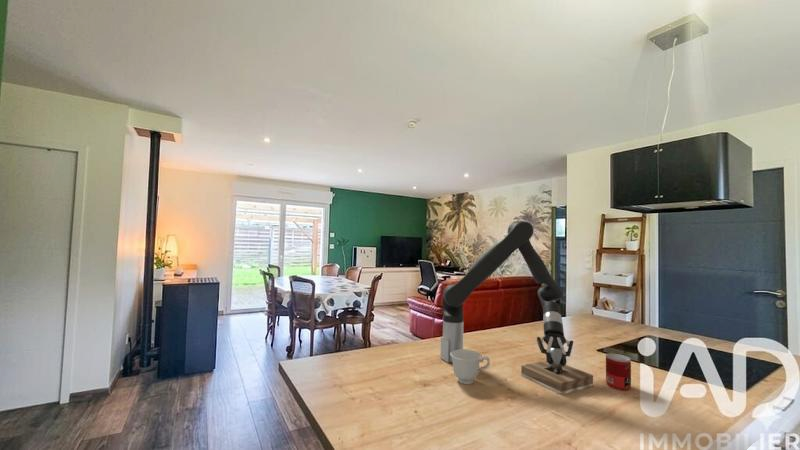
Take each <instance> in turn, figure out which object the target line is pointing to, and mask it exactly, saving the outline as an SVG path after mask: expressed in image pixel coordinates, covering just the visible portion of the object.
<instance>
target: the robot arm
mask: <svg viewBox="0 0 800 450" xmlns="http://www.w3.org/2000/svg"><path fill="white" fill-rule="evenodd" d="M533 234H534V227H533V225H532V224H531V223H530V222H528V221H525V220H522V221H521V220H520V221H513V222H512V223H510V224H509V225H508V228H507V235H505V237H503V239H501V240H500V241H498V242H497V243H496V244H493V245H492V246H490V247H489V248H487V249H486V250H485V251H484V252H483V253H481V254H480V255H479V257H478V258H477V259H475V260H474V262H473V263H472V265H471V266H470V268H468V270H467V272H466V273H465V275H464V276H462V278H461V279H459V280H458V281H457V282H456V283H454V284H448V285H447V286H446V287H445V288H444V289H443V293H442V336H441V337H440V353H439V355H440V357H439V358H440V359H442V360H443V361H444V362H446V363H453V361H452V356H451V355H450V353H451V352H452V351H454V350H460V349H464V318H465V317H464V308H463V307H464V306H463V305H464V303H465V301H466V300H467V299H468V298H469V296H471V294H472V293H473V292H474V291H475V289H477V288H478V287H479V286H480V285H481V284H482V283H484V282H485V281H486V280H487V279H488V278H489V277H490V276H491V275H493V273H495V272H496V271H497V269H498V268H500V267H501V266H502V264H504V262H506V260H508V258H510V256H511V255H513V253H514V252H515V251H517V250H518V251H519V252H520V255H521V256H522V258H523V259H524V261H525V262H526V265H527V266H528V269H529V271H530V273H531V276H532V277H533V280H534V282H535V283H536V284H540V285H541V284H543V285H544V284H545V286H542V287H539V288H538V289H537V296H538V299H539V301H540V303H541V307H542V315H543V319H542V325H543V337H540V336H537V337H536V343H537V346H538V348H539V350H540V353H541V354H545V357H546V360H545V361H547V363H549V364H551V355H550V347H559V348H562V366H565V365H567V357H571V354H572V349H573V346H574V345H573V344H574V341H573V340H568V339H567V338H566V337H565V331H564V330H565V329H564V324H563V323H564V322H563V318H562V313H561V311H562V310H561V306H560V304H559V302H556V301H559V300H562V299H563V298H564V297H563V296H564V292H563V291H564V290H563V289H562V287H561V286H560V285H559V284H558V282H556V280H555V279H554V278H553V277H552V275H551V274H550V272H549V270H548V268H547V266H546V263H545V262H544V261H543V259H542V258H541V256H540V255H539V254H538V253H537V251H536V250H535V248H534V247H533V245H532V243H531V241H530V239H531V238H532V237H533ZM544 343H545V344H546V345H547V348H545V347H544ZM565 344H566V347H568V348H567V351H566V350H565V348H564V345H565Z"/></svg>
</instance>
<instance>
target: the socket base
mask: <svg viewBox="0 0 800 450" xmlns="http://www.w3.org/2000/svg"><path fill="white" fill-rule="evenodd" d="M520 369H521V371H520V372H521V374H520V376H521V377H523V378H525V379H528V380H529V381H531V382H533V383H536V384H538V385H540V386H542V387H544V388H546V389H548V390H550V391H552V392H554V393H557V394H558V395H561V396H562V395H565V394H568V393H573V392H577V391H581V390H583V389H587V388H591V387H593V386H594V375H593V374H591V373H589V372H586V371H583V370H580V369H578V368H575V367H573V366H571V365H568V364H566V365H565V366H562V374H555V373H553V372H551V371H550V364H549V363H547V360H543V361H538V362H532V363H527V364H522V365H521V368H520Z"/></svg>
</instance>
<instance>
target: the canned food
mask: <svg viewBox="0 0 800 450" xmlns="http://www.w3.org/2000/svg"><path fill="white" fill-rule="evenodd" d="M605 382H606V386H608V387H610V388H612V389H614V390H618V391H630V390H631V388H632V359H631V357H629V356H626V355H623V354H619V353H606V354H605Z"/></svg>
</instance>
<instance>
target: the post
mask: <svg viewBox="0 0 800 450" xmlns="http://www.w3.org/2000/svg"><path fill="white" fill-rule="evenodd" d="M550 355H551V364H550V371H551V372H553V373H555V374H562V348H559V347H550Z"/></svg>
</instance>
